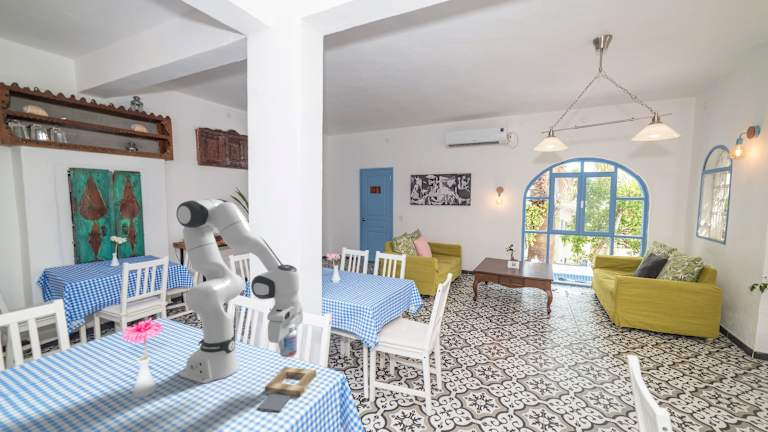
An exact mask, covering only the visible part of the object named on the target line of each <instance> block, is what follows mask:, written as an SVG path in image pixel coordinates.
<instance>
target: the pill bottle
mask: <svg viewBox="0 0 768 432" xmlns="http://www.w3.org/2000/svg"><path fill="white" fill-rule="evenodd" d="M294 329H295V325H294V324H293V325H292V326H291V327H290V328H289V334H288V335H287V336H286V337H284V340H283V341H284V343H285V347H284V348H283V349H280V348H279V351H280V352H279V354H280V356H281V357H282V358H293V357H294V356H295V355H297V353H298V350H297V349H298V346H297V345H298V344H297V343H298V338H297V337H298V335H297V330H296V331H295V330H294Z"/></svg>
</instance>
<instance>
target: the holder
mask: <svg viewBox="0 0 768 432" xmlns="http://www.w3.org/2000/svg"><path fill="white" fill-rule="evenodd" d="M316 376H317V370H316V369H308V368H297V367H288V366H284V367H283V368H282V369H281V370H280V371H279V372H278V373H277V374H276V375H275V376H274V377H273V378H272V379H271V380H270V381H269V382H268V383H267V384H266V385H265V386H264V393H267V392H271V393H273V394H275V393H277V394H281V395H289V396H291V397H292V396H294V397H301V396H302V394H304V393H305V391H306V389H307V388H308V387H309V385H310V384H311V383H312V382H313V380H314V379H315V377H316ZM287 377H289V378H297V379H298V378H299V379H300V380H299V382H298V383H297V384H296V385H295V384H288V383H283V382H284V381H285V380H286V379H287ZM271 393H270V394H271Z"/></svg>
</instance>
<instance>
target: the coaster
mask: <svg viewBox="0 0 768 432" xmlns="http://www.w3.org/2000/svg"><path fill="white" fill-rule="evenodd" d="M291 398H292V395H283V394H275V393H269V395H268V396H267V397H266V398H265V399H264V400H263V401H262V403H260V404H259V406H258V407H257V410H258V409H263V410H262V411H266V410H271V411H270V412H273V411H276V412H275V413H281V411H282V410H283V408H284V407H285V406H286V405H287V403H288V402H289V401H290V400H291ZM281 409H282V410H281Z"/></svg>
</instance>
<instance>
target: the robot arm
mask: <svg viewBox="0 0 768 432" xmlns="http://www.w3.org/2000/svg"><path fill="white" fill-rule="evenodd" d="M176 218H177V222H179V224H180V226H183V230H182V234H183V242H184V247H185V249H186V253H187V256H188V260H189V262H190V266H191V267H192V268H191V269H192V270H193V271H194V272H196V273H200V274H201V275H203V277H204V278H205V279H206V280H205V281H203V282H200V283H198V284H196V285H195V286H193V287H191V288H189V290H187V292H186V293H185V299H184V300H185V301H184V302H185V305H186V306H187V308H188V309H189V310H190V311H191V312H194V313H196V314H197V315H198V317H199V318H200V320H201V325H202V333H203V334H202V335H203V336H202V337H203V338H202V339H201V340H200V341H198V342H197V343H198V344H197V345H198V346H200V348H198V349H197V350H196V351H194V352H193V353H192V354H191V355H190V356H189V357H188V358H187V361H186V366H185V367H184V368H183V369H182V370H181V371H180V372H179V377H180V378H184V379H186V380H190V381H194V382H197V383H200V384H208V383H210V382H212V381H217V380H220V379H224V378H227V377H229V376H231V375H233V374H235V373H236V372H237V371H238V370H239V369H240V363H239V360H238V357H237V354H236V353H237V352H236V348H235V347H236V335H235V333H234V332H235V331H234V318H233V315H232V314H231V313H229V312H226V311H225V307H224V303H227V302H229V301H232V300H234V299H236V298H237V297H238V296H239V295H240V294H241V293H243V291H244V288H245V282H244V280H243V278H242V277H241V276H240V275H238V274H236V273H235V272H233V271H232V270H231V269H230V268H229V267H228V266H227V264H226V263H225V261H224V259H223V257H222V255H221V252H220V249H219V245H218V243H217V240H216V238H215V235H214V230H215V228H216V229H217V231H218V233H219V235H220V237H221V238H222V240H223V242H224V243H225V244H226V245H227V247H229V248H230V249H233V250H235V251H241V252H246V253H250V254H252V255H254V256H256V257H257V258H258V259H259V261H260V262H261V263H262V264H263V266H264V267H265V269H266V272H262V273H260V274H258V275H256V276H255V277H254V278H253V279H252V281H251V284H250V286H251V287H250V288H251V292H252V294H253V296H255V297H256V298H257V299H260V300H268V299H274V305H273V307H272V308H271V310H270V311H269V312H268V313H267V316H266V319H267V320H268V324H267V338H268V339H267V340H268V341H269V342H270V343H275V344H278V349H279V350H280V349H283V348H284V347H285V343H284V341H283V340H284V337H286V336H287V335H288V334H289V328H290V327H291V326H292V325H293V324H294V325H295V329H294V330H295V331H296V332H297V327H299V325H301V324H302V323H303V321H304V312H303V306H302V305H301V301H300V297H299V291H300V277H299V272H298V270H297V268H296V266H294V265H290V264H283V262H281V260H280V259H279V257H278V256H277V255H276V253H275V252H274V250H273V249H272V248H271V247H270V245H269V244H268V242H267V241H266V240H265V239H264V238H263V237H261V236H260V234H258V233H257V232H256V231H255V229H254V228H253V227H252V225H251V224H250V222H249V220H248V219H247V218H246V217H245V215H244V213H243V212H242V210H241V209H240V208H239V206H237V205H236V204H235V203H233V202H230V201H229V200H226V199H222V198H216V199H215V198H204V199H197V200H188V201H184V202H181V203H180V204H179V205H178V206H177V209H176Z"/></svg>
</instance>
